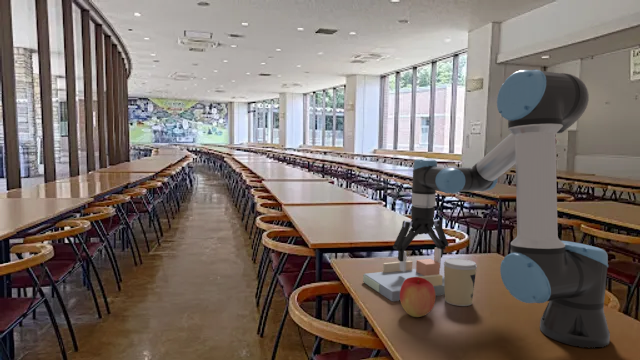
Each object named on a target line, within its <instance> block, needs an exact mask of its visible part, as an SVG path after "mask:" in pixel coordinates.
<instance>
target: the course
mask: <svg viewBox="0 0 640 360" xmlns="http://www.w3.org/2000/svg"><path fill="white" fill-rule="evenodd" d="M399 266H400V261H393V262H392V261H391V262H384V263H383V262H382V271H379V272H378V271H377V272H369V273H363V275H362V276H363V278H362V279H363V281H362V283H364V284H366V285H367V286H368V287H370V288H371V289H373V290H374V291H375V292H376V293H379V294H380V295H382V296H383V297H384V298H387V299H388V300H389V301H391V302H399V300H400V290H401V287H402V284H403V282H404V281H405V280H406V279H407V278H411V277H420V278H424V279H426V280H427V281H429V282H430V283H431V284H432V285H433V287H434V290H435V297H437V296H445V283H444V275H443V274H440V273H439V274H437V275H428V276H424V275H422V274H420V273H418V272H416V268H413V261H412V260H406V272H403V271H401V270H399Z"/></svg>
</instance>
